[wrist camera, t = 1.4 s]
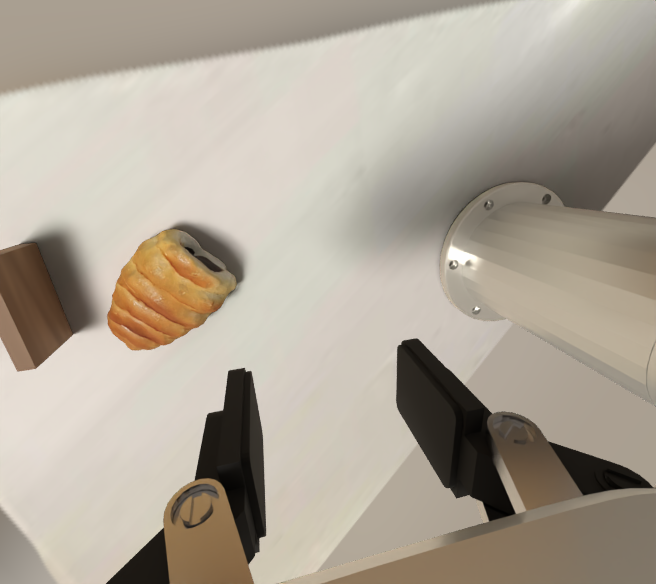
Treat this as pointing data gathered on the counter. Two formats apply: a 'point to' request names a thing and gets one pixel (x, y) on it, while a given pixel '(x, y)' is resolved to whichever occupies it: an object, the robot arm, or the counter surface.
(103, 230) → the counter surface
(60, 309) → the walnut block
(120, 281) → the pastry
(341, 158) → the counter surface
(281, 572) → the counter surface
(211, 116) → the counter surface
